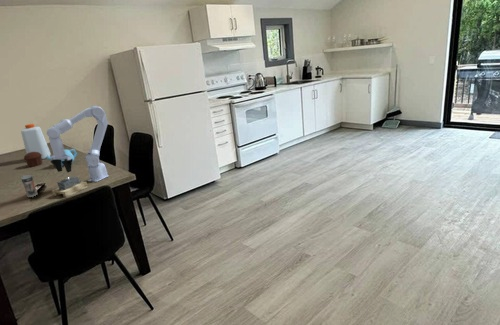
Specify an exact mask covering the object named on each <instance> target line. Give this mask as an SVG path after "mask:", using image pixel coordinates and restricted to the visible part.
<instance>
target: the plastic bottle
mask: <svg viewBox="0 0 500 325" xmlns="http://www.w3.org/2000/svg"><path fill="white" fill-rule="evenodd" d="M20 132H21V133H20V134H21V137H22V140H23V141H22V142H23V145H24V149H25V152H26V154H27V153H30V152H39V153H40V154H41V155H42V156H41V157H42V160H46V159H47V158H46V156H47V155H48V156H52V154H51V150H50V148H49V146H48V143H47V140H46V139H45V136H44V133H43V131H42V128H41V127H40V126H35V124H34V123H30V124H26V125H24V128H23V129H22V130H21V131H20ZM26 154H25V155H26Z"/></svg>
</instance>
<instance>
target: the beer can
mask: <svg viewBox="0 0 500 325" xmlns="http://www.w3.org/2000/svg"><path fill="white" fill-rule="evenodd" d="M20 179H21V182H22V185H23V187H24V188H23V189H24V190H25V193H26V196H27V198H29V197H32V198H35V197H37V196H38V191H37V188H36V185H35V182H34V178H33V176H32V175H31V174H26V175H22V176H21V178H20ZM36 195H37V196H36ZM34 196H35V197H34Z"/></svg>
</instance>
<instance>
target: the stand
mask: <svg viewBox="0 0 500 325" xmlns="http://www.w3.org/2000/svg"><path fill="white" fill-rule="evenodd" d="M86 188H89V184H88V181H81V182H80V184H77V185H75V186H73V187H71V188H68V189H66V190H62V191H58V189H59V187H58V188H55V189H52V190H51V191H52V195H53V197H57V196H60V195H61V194H62V196H63V197H64V198H67V197H69V196H72V195H75V194H76V193H78V192H80V191H82V190H85V189H86Z"/></svg>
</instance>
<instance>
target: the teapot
mask: <svg viewBox="0 0 500 325" xmlns="http://www.w3.org/2000/svg"><path fill="white" fill-rule="evenodd" d="M64 150H65V154H66V155H68V156H71V159H73V161H72V163H73V162H74V161H75V158H76V157H77V156H78V153H77V151H76V149H75V148H72V149H69V148H68V149H64ZM72 152H73V153H72ZM50 156H51V155H50ZM50 156H48V155H47V156H46V159H47V160H49V161H52V160H51V158H50ZM61 161H64V160H61ZM61 166H62V167H63V166H64V165H63V163H62V162H61Z"/></svg>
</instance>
